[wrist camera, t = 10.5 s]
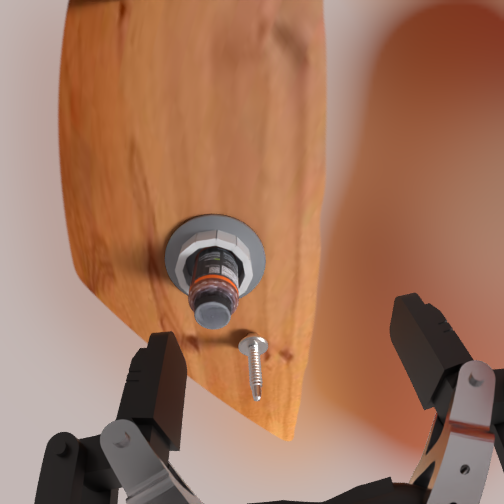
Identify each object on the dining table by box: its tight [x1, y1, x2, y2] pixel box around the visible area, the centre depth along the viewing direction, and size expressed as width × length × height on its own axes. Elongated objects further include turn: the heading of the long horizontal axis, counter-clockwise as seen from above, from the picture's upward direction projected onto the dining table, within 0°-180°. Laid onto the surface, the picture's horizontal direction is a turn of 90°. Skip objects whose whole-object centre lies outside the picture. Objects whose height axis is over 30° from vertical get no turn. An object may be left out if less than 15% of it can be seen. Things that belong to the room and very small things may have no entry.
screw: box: [238, 333, 268, 401], centre depth 46 cm, size 13×5×5 cm
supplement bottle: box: [188, 246, 239, 329], centre depth 38 cm, size 6×6×11 cm
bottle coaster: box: [165, 214, 266, 298], centre depth 42 cm, size 14×14×3 cm
